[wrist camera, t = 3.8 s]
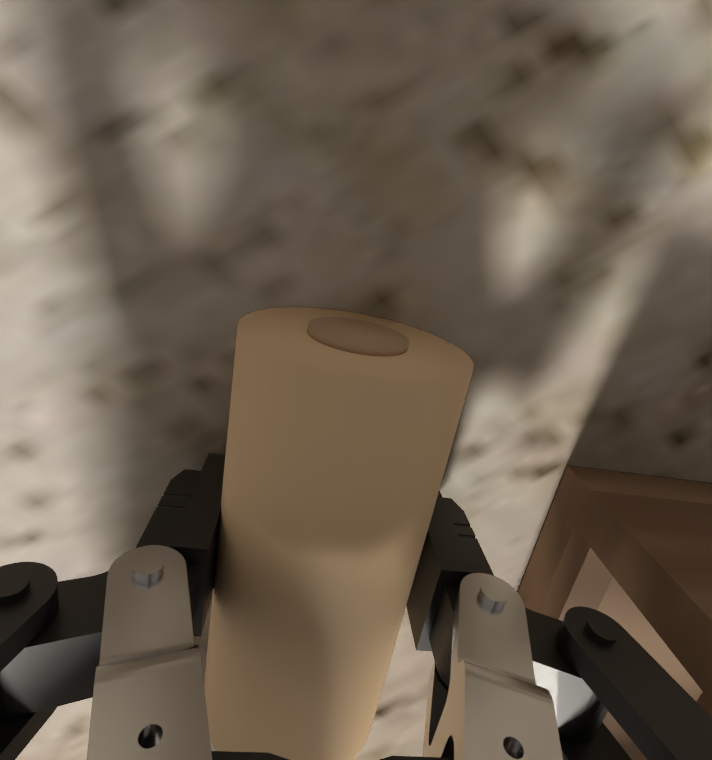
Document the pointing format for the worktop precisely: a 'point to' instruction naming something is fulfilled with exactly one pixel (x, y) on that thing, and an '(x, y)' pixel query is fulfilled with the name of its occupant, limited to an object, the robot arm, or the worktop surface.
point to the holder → (632, 568)
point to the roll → (322, 522)
